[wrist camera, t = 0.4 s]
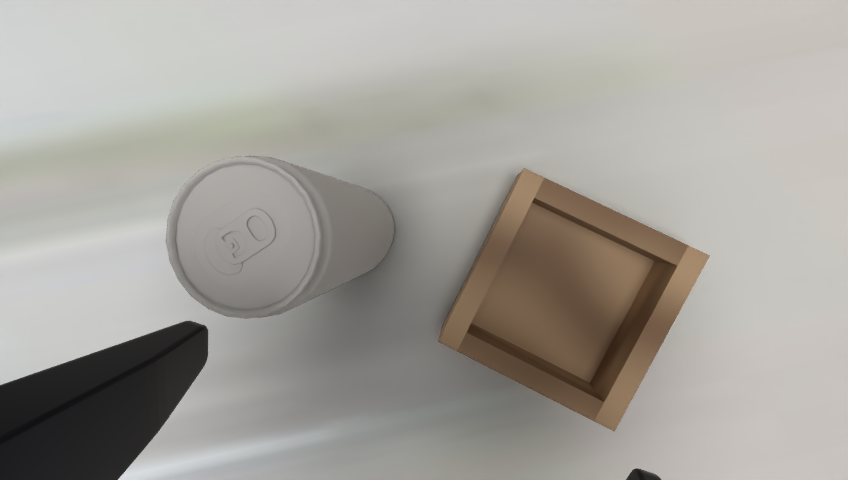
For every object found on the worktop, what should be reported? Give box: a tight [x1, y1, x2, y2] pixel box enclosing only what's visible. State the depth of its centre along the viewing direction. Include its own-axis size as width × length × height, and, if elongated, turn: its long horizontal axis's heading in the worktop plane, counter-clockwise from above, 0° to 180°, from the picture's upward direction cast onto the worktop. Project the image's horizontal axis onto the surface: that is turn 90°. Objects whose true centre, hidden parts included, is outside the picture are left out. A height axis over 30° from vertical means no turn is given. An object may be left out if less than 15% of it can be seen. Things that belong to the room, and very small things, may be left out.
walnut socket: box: [438, 168, 709, 431], centre depth 22 cm, size 9×9×3 cm
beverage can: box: [166, 156, 395, 318], centre depth 19 cm, size 5×5×12 cm
